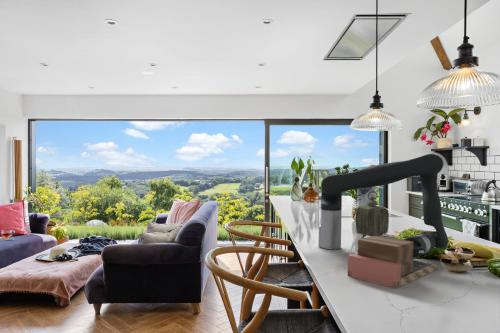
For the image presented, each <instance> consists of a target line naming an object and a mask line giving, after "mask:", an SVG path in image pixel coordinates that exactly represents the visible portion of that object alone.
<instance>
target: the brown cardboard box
mask: <svg viewBox="0 0 500 333" xmlns="http://www.w3.org/2000/svg"><path fill="white" fill-rule="evenodd" d="M357 255H360V256H365V257H369V258H374V259H378V260H383V261H388V262H392V263H397V264H401V276H402V275H405V274H407V273H409V272H412V271H413V260H414V257H413V242H412V241H406V240H405V239H400V238H393V237H388V236H383V235H380V236H376V235H375V236H366V237H364V238H363V239H361V238H359V239H357Z"/></svg>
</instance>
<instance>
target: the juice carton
mask: <svg viewBox="0 0 500 333" xmlns="http://www.w3.org/2000/svg"><path fill="white" fill-rule="evenodd" d="M376 187H377V186H376ZM376 187H369V188H358V189H356V191H357V192H356V209H357V208H358V207H359V206H362V205H367V203H368V202H369V201H371V200H370V199H369V198H372V197H374V198H376V196H377V195H376V193H377V190H376ZM371 191H375V192H376V193H370V194H369V192H371ZM368 194H369V198H368ZM374 201H376V202H377V198H376V199H375V200H374ZM374 206H377V205H374Z"/></svg>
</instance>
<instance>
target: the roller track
mask: <svg viewBox="0 0 500 333" xmlns="http://www.w3.org/2000/svg"><path fill="white" fill-rule="evenodd" d="M434 271H437V264H435V263H429V262H425V261H419V260H414V259H413V271H412V272H409V273H407V274H405V275H402V276H401V264H397V263H392V262H388V261H383V260H378V259H374V258H369V257H365V256H360V255H358V254H354V253H351V254H347V276H348V277H351V278H355V279H357V280H358V279H359V280H362V281H367V282H370V283H373V282H374V284H377V283H378V285H381V284H382V285H381V286H385V285H386V286H385V287H388V286H390V287H389V288H392V287H394V288H393V289H398V288H397V287H399V288H400V286H401V287H403V286H405V285H407V284H409V283H411V282H413V281H415V280H417V279H419V278H422V277H424V276H425V275H428V274H430V273H432V272H434ZM406 283H407V284H406ZM404 284H405V285H404ZM402 285H403V286H402Z"/></svg>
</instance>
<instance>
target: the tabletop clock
mask: <svg viewBox="0 0 500 333" xmlns="http://www.w3.org/2000/svg"><path fill="white" fill-rule="evenodd" d="M370 193H376V198H374V197H372V198H369V194H370ZM369 194H368V198H369V199H370V200H371V201H369V202H368V203H367V205H362V206H359V207H358V208H357V207H356V210H355V231H356V233H357V234H359V235H362V236H361V238H360V239H363V238H366V237H371V236H375V235H376V236H383V235H386V234H387V233H388V232H389V224H390V222H389V221H390V220H389V216H390V214H389V210H388V209H387V208H386V207H385V206H381V205H379V204H378V202H377V198H378V192H377V191H376V192H375V191H371V192H369ZM375 199H376V201H374V200H375ZM374 205H376V206H374Z"/></svg>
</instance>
